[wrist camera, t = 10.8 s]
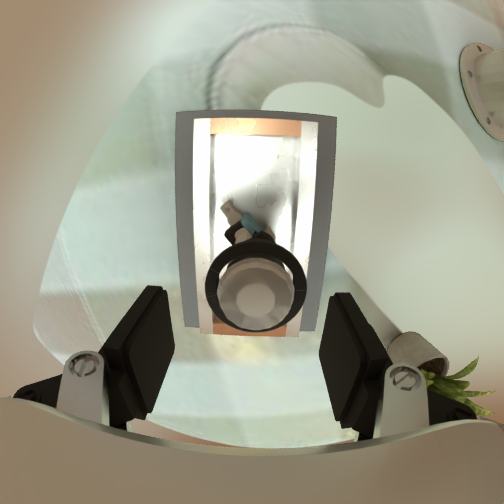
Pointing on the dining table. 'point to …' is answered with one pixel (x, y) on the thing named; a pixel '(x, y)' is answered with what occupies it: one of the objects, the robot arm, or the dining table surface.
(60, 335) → the dining table surface
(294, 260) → the round cylindrical fitting
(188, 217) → the panel
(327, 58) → the dining table surface
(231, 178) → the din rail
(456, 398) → the house plant
